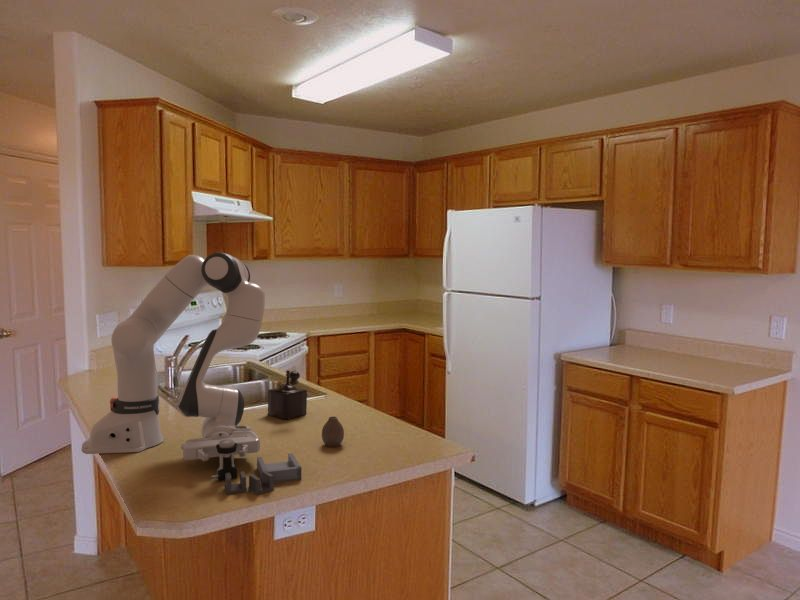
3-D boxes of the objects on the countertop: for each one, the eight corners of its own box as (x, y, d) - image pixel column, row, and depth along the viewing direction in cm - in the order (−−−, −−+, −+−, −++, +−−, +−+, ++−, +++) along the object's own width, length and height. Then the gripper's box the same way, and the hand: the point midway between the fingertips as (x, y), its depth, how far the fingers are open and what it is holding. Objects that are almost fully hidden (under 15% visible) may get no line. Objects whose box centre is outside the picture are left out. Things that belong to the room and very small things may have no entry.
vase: (326, 450, 175) (326, 421, 174) (318, 443, 181) (318, 415, 180) (347, 446, 178) (347, 419, 177) (339, 440, 184) (339, 413, 183)
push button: (215, 485, 147) (215, 447, 146) (208, 478, 151) (207, 441, 150) (240, 479, 151) (240, 442, 150) (232, 473, 155) (232, 437, 154)
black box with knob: (265, 415, 210) (265, 366, 209) (289, 409, 219) (289, 362, 217) (293, 423, 200) (293, 372, 199) (316, 417, 209) (317, 368, 207)
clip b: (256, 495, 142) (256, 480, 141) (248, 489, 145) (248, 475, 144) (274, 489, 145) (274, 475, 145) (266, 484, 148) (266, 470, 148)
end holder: (263, 484, 148) (263, 472, 148) (257, 468, 159) (257, 457, 159) (301, 479, 152) (301, 467, 152) (292, 464, 162) (292, 453, 162)
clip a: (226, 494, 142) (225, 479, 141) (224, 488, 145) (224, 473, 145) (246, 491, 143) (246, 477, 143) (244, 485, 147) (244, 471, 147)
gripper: (180, 432, 161) (182, 448, 148) (255, 425, 169) (262, 440, 156) (181, 454, 161) (182, 472, 149) (255, 446, 169) (263, 463, 156)
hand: (224, 456), depth 152 cm, fingers open, 8 cm apart
